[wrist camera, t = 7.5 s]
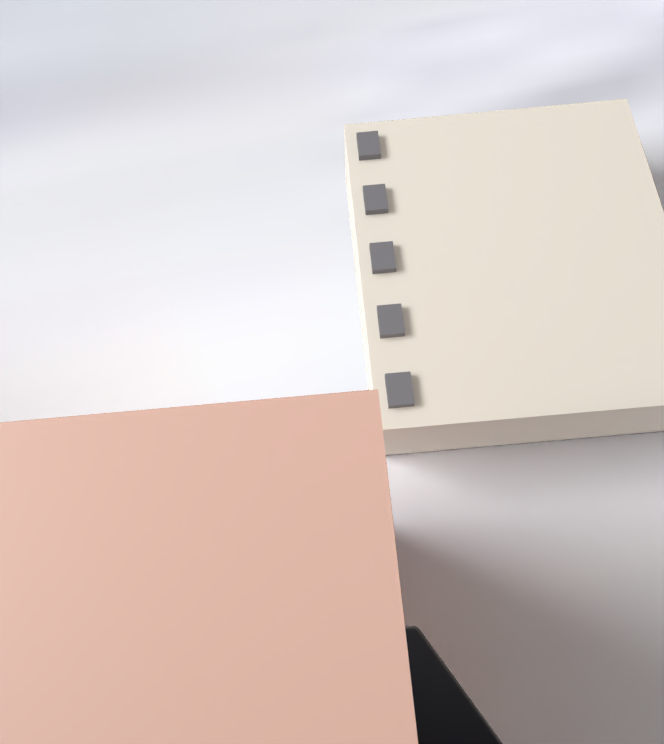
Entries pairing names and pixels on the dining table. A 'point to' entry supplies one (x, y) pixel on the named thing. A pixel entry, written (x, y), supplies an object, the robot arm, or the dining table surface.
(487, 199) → the board
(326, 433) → the pink rectangular block
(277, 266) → the dining table surface
